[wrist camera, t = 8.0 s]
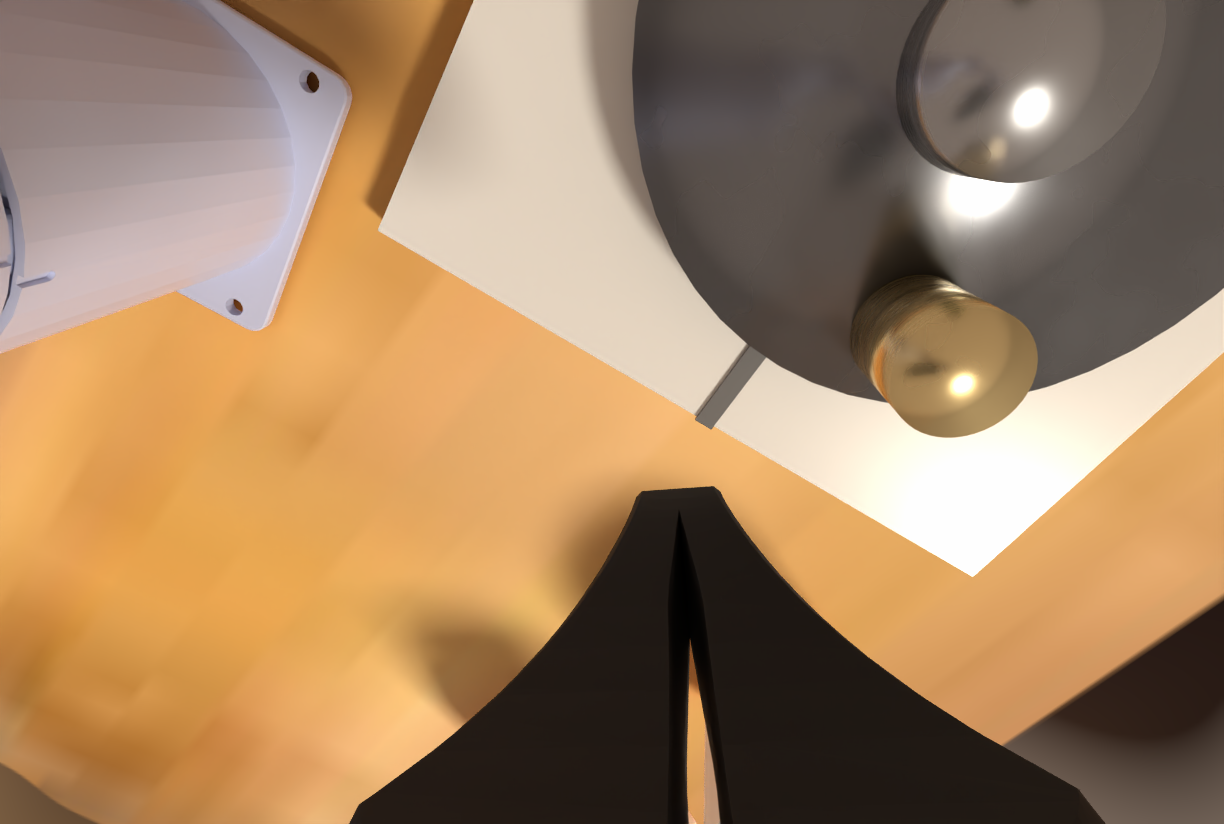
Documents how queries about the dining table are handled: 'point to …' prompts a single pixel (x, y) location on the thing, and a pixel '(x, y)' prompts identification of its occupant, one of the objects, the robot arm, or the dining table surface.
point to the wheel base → (680, 318)
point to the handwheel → (938, 185)
